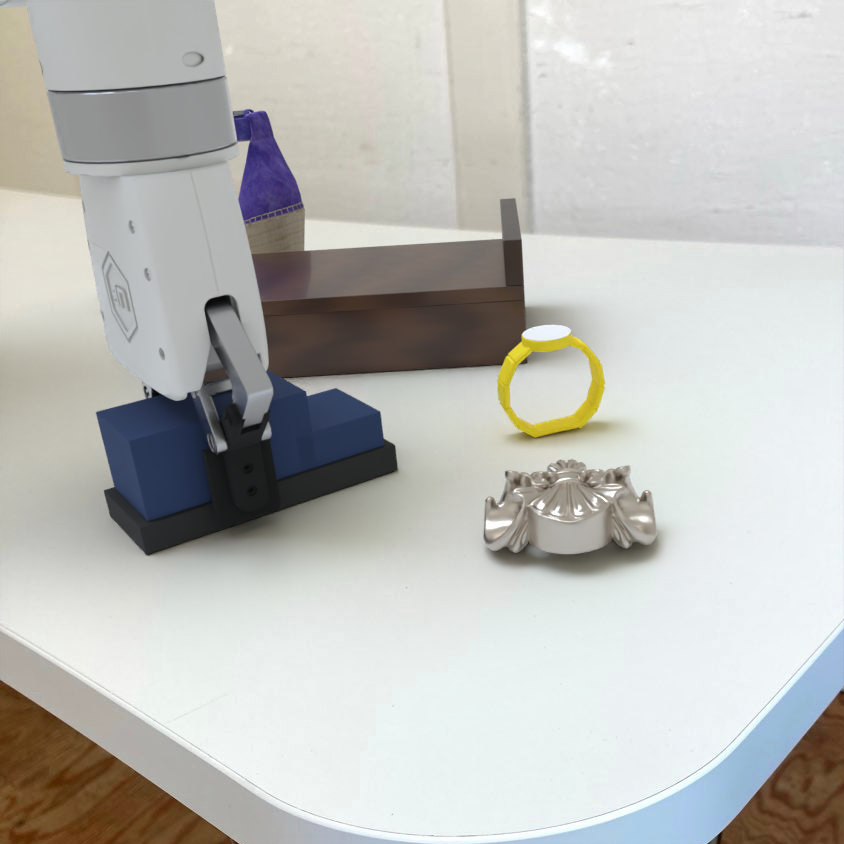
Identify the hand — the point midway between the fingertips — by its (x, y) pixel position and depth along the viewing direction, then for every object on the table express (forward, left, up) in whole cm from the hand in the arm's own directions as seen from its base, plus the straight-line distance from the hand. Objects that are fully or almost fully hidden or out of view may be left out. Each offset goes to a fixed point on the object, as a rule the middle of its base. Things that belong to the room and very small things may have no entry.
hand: (219, 490), depth 55 cm
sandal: (-10, +42, -1) cm, 43 cm away
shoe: (+2, +1, -1) cm, 2 cm away
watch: (+18, +7, -1) cm, 19 cm away
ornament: (+18, -6, -1) cm, 19 cm away
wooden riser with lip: (+5, +26, -1) cm, 27 cm away
